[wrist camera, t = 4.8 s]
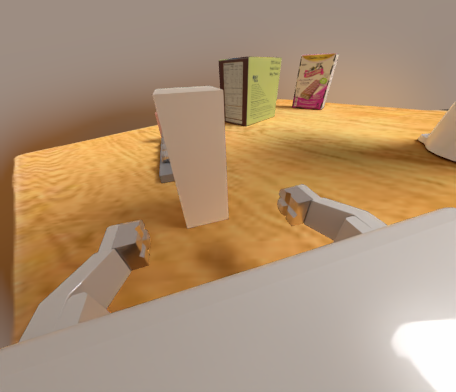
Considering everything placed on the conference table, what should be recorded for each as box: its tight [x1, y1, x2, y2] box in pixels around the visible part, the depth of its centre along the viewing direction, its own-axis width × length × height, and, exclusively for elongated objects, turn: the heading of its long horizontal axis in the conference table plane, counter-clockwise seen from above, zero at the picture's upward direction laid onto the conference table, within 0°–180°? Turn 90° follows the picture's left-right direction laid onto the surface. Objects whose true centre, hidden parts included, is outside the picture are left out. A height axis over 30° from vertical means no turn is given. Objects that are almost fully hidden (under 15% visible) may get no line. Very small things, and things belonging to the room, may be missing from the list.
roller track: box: [155, 112, 175, 183], centre depth 32 cm, size 10×20×6 cm, turn 17°
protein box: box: [219, 57, 281, 126], centre depth 51 cm, size 10×15×16 cm
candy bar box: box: [292, 53, 339, 110], centre depth 62 cm, size 11×5×16 cm, turn 55°
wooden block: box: [153, 86, 229, 229], centre depth 16 cm, size 4×4×12 cm
